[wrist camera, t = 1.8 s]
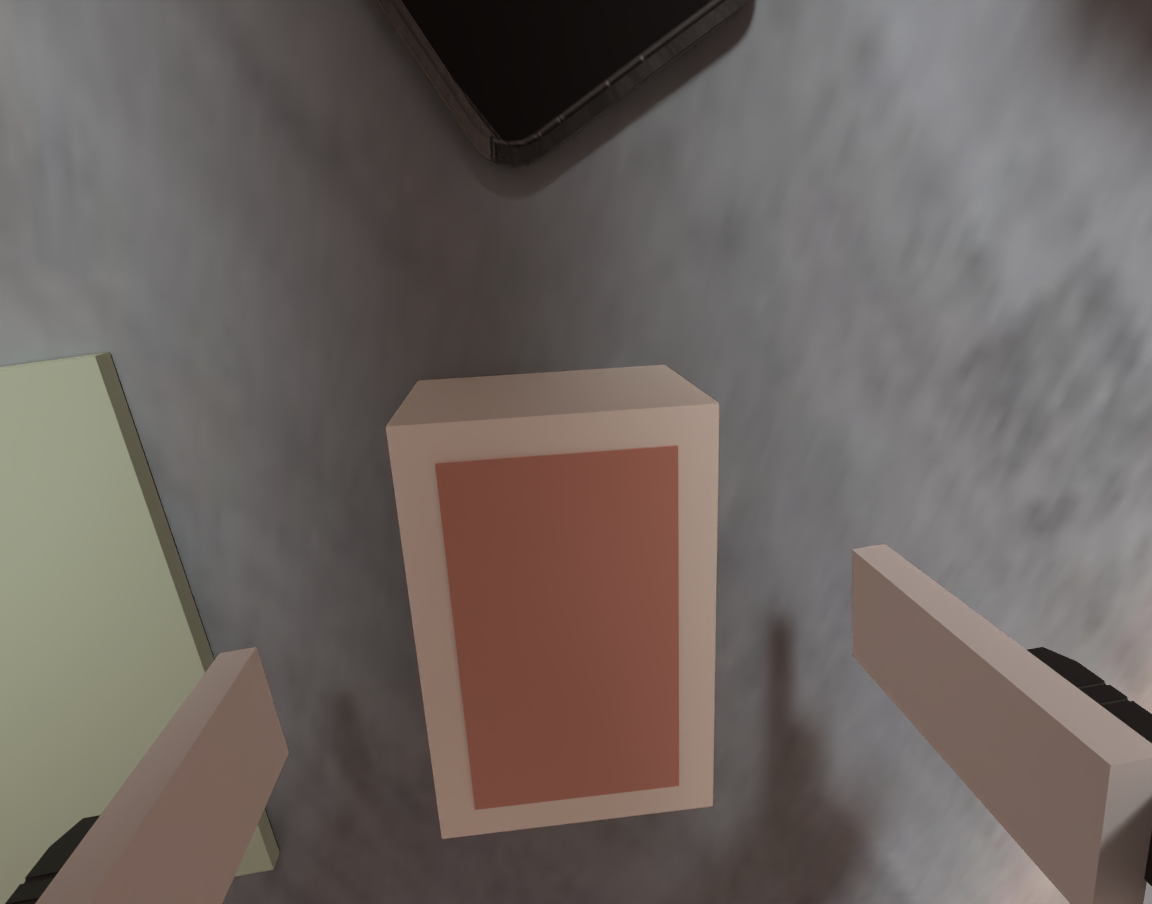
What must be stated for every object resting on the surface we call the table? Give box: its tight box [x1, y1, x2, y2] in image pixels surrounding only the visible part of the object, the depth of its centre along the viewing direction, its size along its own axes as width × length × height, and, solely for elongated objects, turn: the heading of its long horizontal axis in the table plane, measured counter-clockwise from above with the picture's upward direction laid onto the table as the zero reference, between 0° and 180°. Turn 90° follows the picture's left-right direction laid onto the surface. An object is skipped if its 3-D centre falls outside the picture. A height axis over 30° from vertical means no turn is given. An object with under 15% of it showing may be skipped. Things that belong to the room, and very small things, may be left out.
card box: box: [386, 365, 719, 839], centre depth 17 cm, size 10×6×5 cm, turn 2°
